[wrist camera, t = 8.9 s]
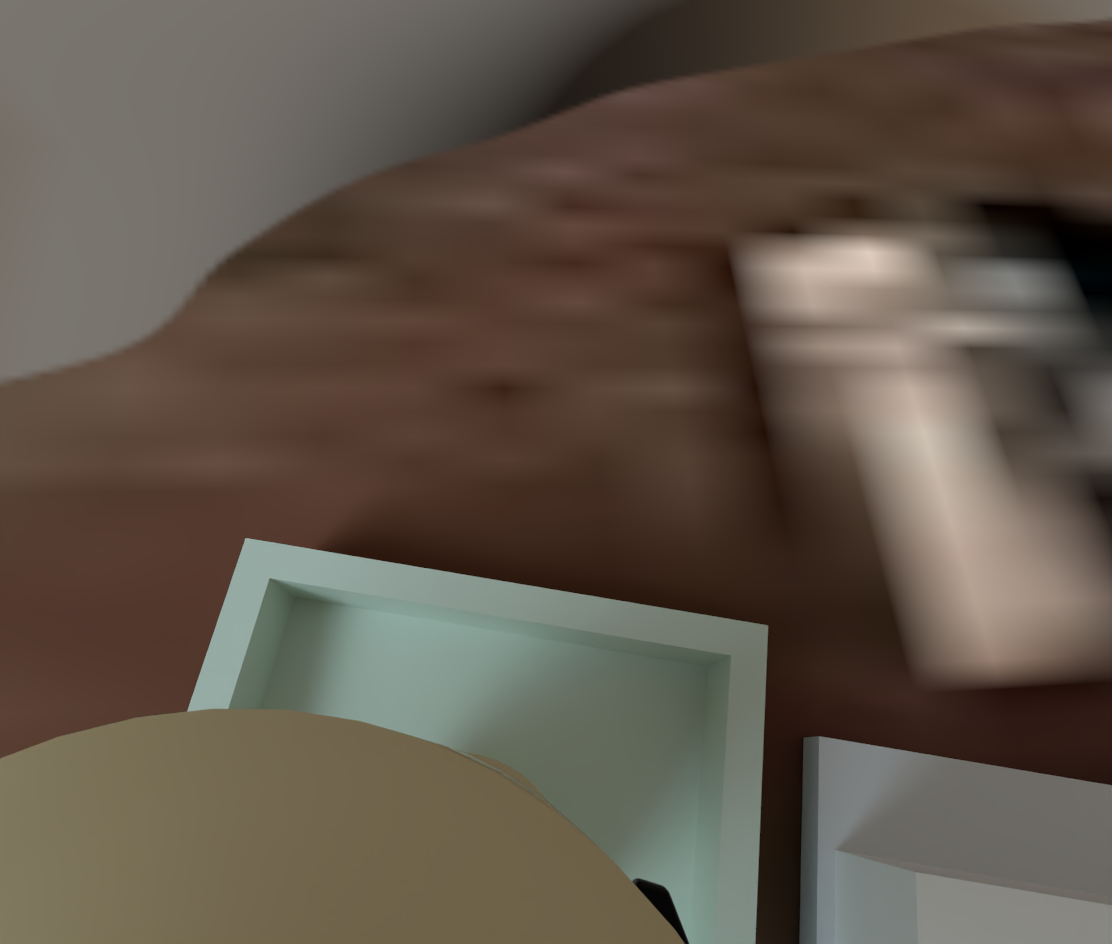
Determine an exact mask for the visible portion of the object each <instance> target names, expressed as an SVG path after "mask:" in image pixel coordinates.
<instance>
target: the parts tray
mask: <svg viewBox="0 0 1112 944" xmlns="http://www.w3.org/2000/svg"><path fill="white" fill-rule="evenodd" d="M767 643H768V625H762V624H757V623H751V622H745V621H739V620H733V619H727V618H721V617H715V616H709V615H703V614H697V613H691V612H685V611H679V610H673V609H667V608H661V607H655V606H649V605H643V604H637V603H631V602H625V601H619V600H613V599H607V598H601V597H595V596H589V595H583V594H577V593H571V592H565V591H559V590H553V589H547V588H541V587H535V586H529V585H523V584H517V583H511V582H505V581H499V580H493V579H487V578H481V577H475V576H469V575H463V574H457V573H451V572H445V571H439V570H433V569H428V568H422V567H416V566H410V565H404V564H398V563H392V562H386V561H380V560H374V559H368V558H362V557H356V556H350V555H344V554H338V553H332V552H326V551H320V550H314V549H308V548H302V547H296V546H290V545H284V544H278V543H272V542H266V541H260V540H254V539H248V538H246V539H245V542H244V545H243V548H242V551H241V554H240V557H239V560H238V562H237V565H236V568H235V571H234V574H233V577H232V580H231V583H230V586H229V589H228V592H227V595H226V598H225V601H224V604H223V607H222V610H221V613H220V616H219V619H218V622H217V625H216V628H215V631H214V634H213V637H212V640H211V642H210V645H209V648H208V651H207V654H206V657H205V660H204V663H203V666H202V669H201V672H200V675H199V678H198V681H197V684H196V687H195V690H194V693H193V696H192V699H191V702H190V705H189V708H188V711H197V710H206V709H275V710H293V711H299V712H306V713H312V714H319V715H325V716H332V717H338V718H345V719H351V720H358V721H362V722H365V723H369V724H373V725H376V726H380V727H383V728H387V729H390V730H394V731H397V732H401V733H404V734H408V735H411V736H415V737H418V738H421V739H425V740H428V741H431V742H434V743H438V744H441V745H444V746H448V747H451V748H454V749H457V750H460V751H462V752H466V753H472V754H478V755H482V756H485V757H488V758H491V759H495V760H497V761H499V762H501V763H504V764H506V765H508V766H510V767H511V768H513V769H514V770H516V771H517V772H519V773H520V774H522V775H523V776H524V777H525V778H526V779H528V780H529V781H530V782H531V783H532V784H533V785H534V786H535V787H536V788H537V789H538V790H539V791H540V792H541V793H542V794H543V796H544V797H545V798H546V799H547V800H548V802H549V803H550V804H551V805H552V806H554V807H555V808H556V809H557V810H558V811H559V812H561V813H562V814H563V815H564V816H565V817H566V818H567V819H569V820H570V821H571V822H572V823H573V824H574V825H576V826H577V827H578V828H579V829H580V830H581V831H582V832H583V833H584V834H585V835H586V836H587V837H589V838H590V839H591V840H592V841H593V842H594V843H595V844H596V845H597V846H598V847H599V848H600V849H601V850H602V851H603V852H604V853H605V854H606V855H607V856H608V857H609V858H610V859H611V860H612V861H613V862H615V863H616V864H617V865H618V866H619V867H620V869H621V870H622V871H623V872H624V873H625V874H626V875H627V876H628V878H629V879H630V880H631V881H633V880H634V879H636V878H641V879H644V880H647V881H650V882H653V883H656V884H660V885H662V886H664V887H665V888H666V889H667V890H668V891H669V893H670V895H671V898H672V900H673V903H674V906H675V908H676V911H677V913H678V916H679V918H680V921H681V924H682V926H683V929H684V931H685V934H686V936H687V939H688V942H689V944H755V939H756V915H757V890H758V865H759V841H760V816H761V791H762V767H763V742H764V717H765V693H766V668H767ZM188 711H187V712H188Z"/></svg>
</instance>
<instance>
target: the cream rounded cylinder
mask: <svg viewBox="0 0 1112 944" xmlns="http://www.w3.org/2000/svg"><path fill="white" fill-rule="evenodd" d="M0 944H685V943H684V942H683V940H682V939H681V938H680V936H679V935H678V933H677V932H676V930H675V929H674V928H673V927H672V926H671V925H670V923H669V922H668V921H667V920H666V919H665V918H664V917H663V916H662V915H661V913H660V912H659V911H658V910H657V909H656V908H655V907H654V906H653V904H652V903H651V902H650V901H649V900H648V899H647V898H646V897H645V895H644V894H643V893H642V892H641V891H640V890H639V889H638V888H637V886H636V885H635V884H634V883H633V882H632V881H631V880H630V879H629V878H628V876H627V875H626V874H625V873H624V872H623V871H622V870H621V869H620V867H619V866H618V865H617V864H616V863H615V862H613V861H612V860H611V859H610V858H609V857H608V856H607V855H606V854H605V853H604V852H603V851H602V850H601V849H600V848H599V847H598V846H597V845H596V844H595V843H594V842H593V841H592V840H591V839H590V838H589V837H587V836H586V835H585V834H584V833H583V832H582V831H581V830H580V829H579V828H578V827H577V826H576V825H574V824H573V823H572V822H571V821H570V820H569V819H567V818H566V817H565V816H564V815H563V814H562V813H561V812H559V811H558V810H557V809H556V808H555V807H554V806H552V805H551V804H550V803H549V802H548V800H547V799H546V798H545V797H544V796H543V794H542V793H541V792H540V791H539V790H538V789H537V788H536V787H535V786H534V785H533V784H532V783H531V782H530V781H529V780H528V779H526V778H525V777H524V776H523V775H522V774H520V773H519V772H517V771H516V770H514V769H513V768H511V767H510V766H508V765H506V764H504V763H501V762H499V761H497V760H495V759H491V758H488V757H485V756H482V755H478V754H472V753H466V752H462V751H460V750H457V749H454V748H451V747H448V746H444V745H441V744H438V743H434V742H431V741H428V740H425V739H421V738H418V737H415V736H411V735H408V734H404V733H401V732H397V731H394V730H390V729H387V728H383V727H380V726H376V725H373V724H369V723H365V722H362V721H358V720H351V719H345V718H338V717H332V716H325V715H319V714H312V713H306V712H299V711H293V710H275V709H206V710H197V711H188V712H180V713H171V714H163V715H154V716H146V717H137V718H133V719H129V720H125V721H121V722H117V723H113V724H109V725H105V726H101V727H96V728H92V729H88V730H84V731H80V732H76V733H72V734H68V735H64V736H60V737H57V738H54V739H51V740H49V741H46V742H43V743H41V744H38V745H35V746H32V747H30V748H27V749H24V750H22V751H19V752H16V753H14V754H11V755H8V756H6V757H3V758H0Z"/></svg>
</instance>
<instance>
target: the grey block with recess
mask: <svg viewBox="0 0 1112 944" xmlns="http://www.w3.org/2000/svg"><path fill="white" fill-rule="evenodd" d="M799 944H1112V785H1107V784H1101V783H1095V782H1089V781H1083V780H1077V779H1071V778H1065V777H1059V776H1053V775H1047V774H1041V773H1035V772H1029V771H1023V770H1017V769H1011V768H1005V767H999V766H994V765H988V764H982V763H976V762H970V761H964V760H958V759H952V758H946V757H940V756H934V755H928V754H922V753H916V752H910V751H904V750H898V749H892V748H886V747H880V746H874V745H869V744H863V743H857V742H851V741H845V740H839V739H833V738H827V737H821V736H816V737H803V786H802V835H801V884H800V934H799Z"/></svg>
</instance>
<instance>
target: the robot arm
mask: <svg viewBox="0 0 1112 944" xmlns="http://www.w3.org/2000/svg"><path fill="white" fill-rule="evenodd" d="M632 882H633V883H634V884H635V885H636V886H637V888H638V889H639V890H640V891H641V892H642V893H643V894H644V895H645V897H646V898H647V899H648V900H649V901H650V902H651V903H652V904H653V906H654V907H655V908H656V909H657V910H658V911H659V912H660V913H661V915H662V916H663V917H664V918H665V919H666V920H667V921H668V922H669V923H670V925H671V926H672V927H673V928H674V929H675V930H676V932H677V933H678V935H679V936H680V938H681V939H682V940H683V942H684V943H685V944H689V942H688V939H687V936H686V934H685V931H684V929H683V926H682V924H681V921H680V918H679V916H678V913H677V911H676V908H675V906H674V903H673V900H672V898H671V895H670V893H669V891H668V890H667V889H666V888H665V887H664V886H662V885H660V884H656V883H653V882H650V881H647V880H644V879H641V878H636V879H634V880H633V881H632Z"/></svg>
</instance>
